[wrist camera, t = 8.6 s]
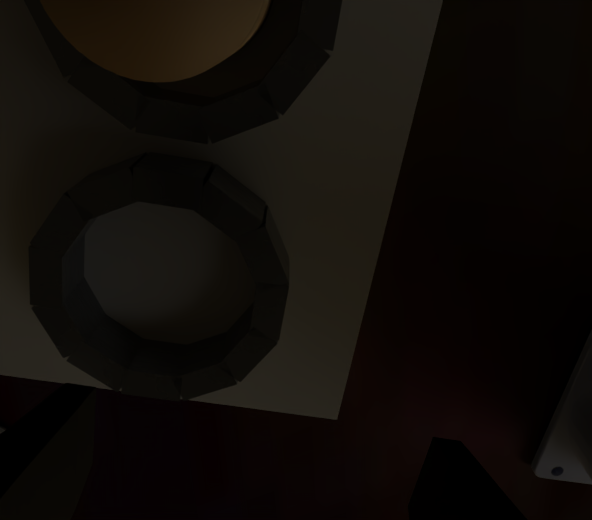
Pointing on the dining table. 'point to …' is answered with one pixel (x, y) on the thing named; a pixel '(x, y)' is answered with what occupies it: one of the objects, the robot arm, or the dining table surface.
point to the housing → (204, 205)
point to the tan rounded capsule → (158, 33)
